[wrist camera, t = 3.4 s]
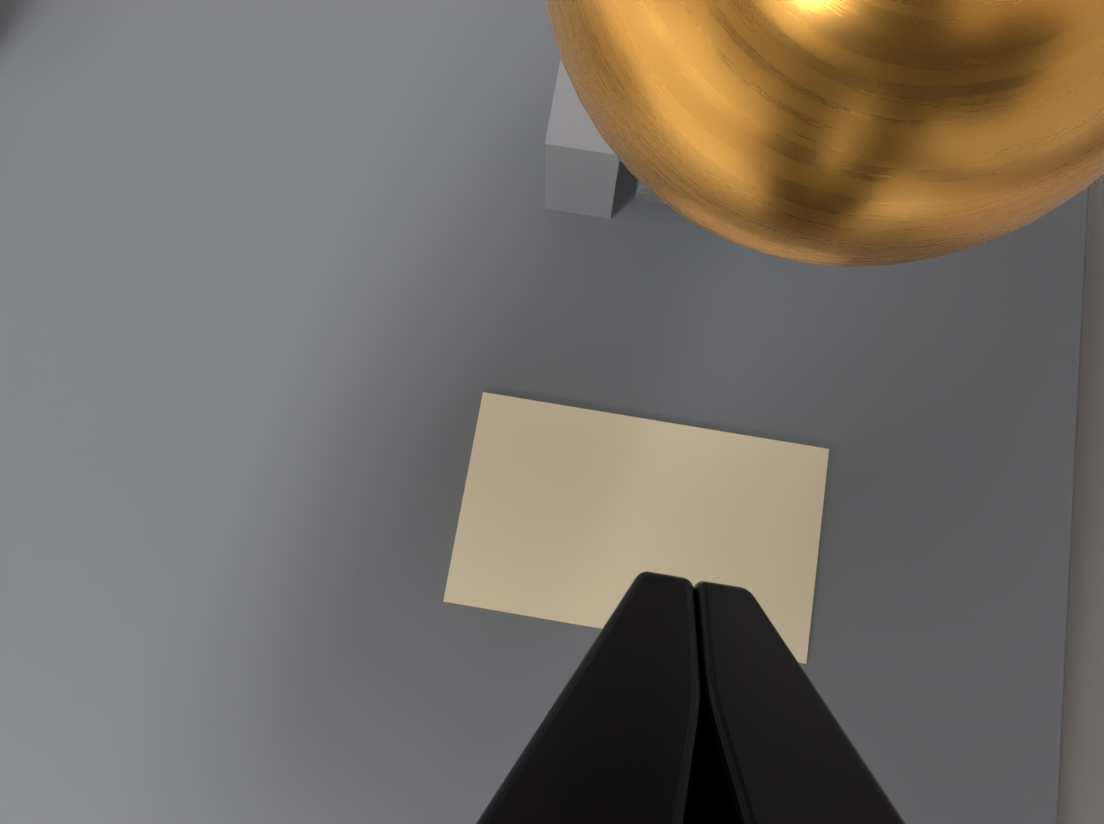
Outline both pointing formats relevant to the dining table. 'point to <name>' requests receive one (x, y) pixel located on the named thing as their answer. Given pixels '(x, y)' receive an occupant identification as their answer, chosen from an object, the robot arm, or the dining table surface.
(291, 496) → the switch panel
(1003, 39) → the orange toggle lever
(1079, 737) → the dining table surface
